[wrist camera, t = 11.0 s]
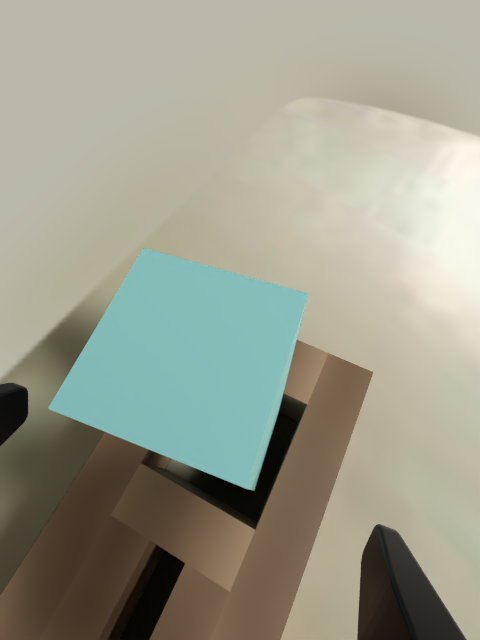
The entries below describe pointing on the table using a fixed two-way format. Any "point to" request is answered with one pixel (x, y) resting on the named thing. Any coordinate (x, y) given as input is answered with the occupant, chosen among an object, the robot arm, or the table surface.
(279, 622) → the bore block
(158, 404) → the teal square peg
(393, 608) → the robot arm
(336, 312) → the table surface
